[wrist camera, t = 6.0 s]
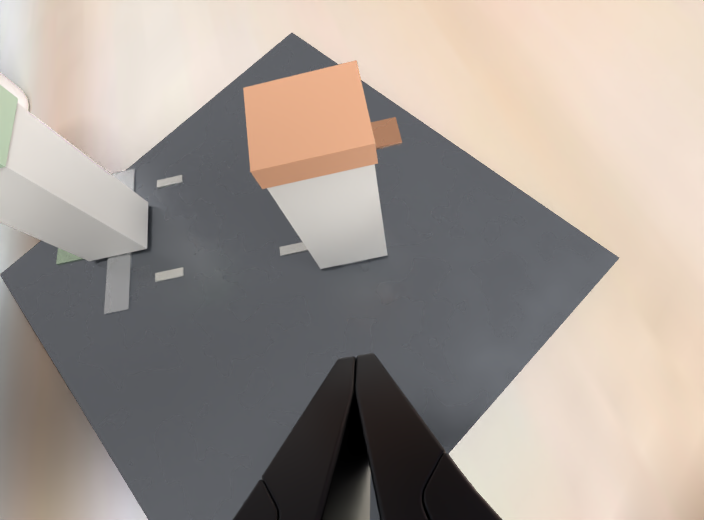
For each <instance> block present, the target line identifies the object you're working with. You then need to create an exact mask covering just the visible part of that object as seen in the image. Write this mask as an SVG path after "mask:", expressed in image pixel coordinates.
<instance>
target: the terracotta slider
mask: <svg viewBox="0 0 704 520" xmlns="http://www.w3.org/2000/svg"><path fill="white" fill-rule="evenodd" d="M243 91H244V103H245V114H246V126H247V138H248V150H249V162H250V172H251V173H252V175H253V176H254V178H255V179H256V181H257V182H258V184H259V185H260V186H261V188H262V189H265V188H267V189H268V191H269V192H270V194H271V195H272V197H273V198H274V200H275V201H276V203H277V204H278V206H279V207H280V209H281V210H282V212H283V213H284V215H285V216H286V218H287V219H288V221H289V222H290V224H291V225H292V227H293V228H294V230H295V231H296V233H297V234H298V236H299V237H300V239H301V240H302V242H303V243H304V245H305V246H306V248H307V249H308V251H309V252H310V254H311V255H312V257H313V258H314V260H315V261H316V263H317V264H318V266H319V267H320V269H323V268H328V267H333V266H338V265H343V264H348V263H352V262H357V261H362V260H367V259H372V258H377V257H382V256H387V248H386V241H385V234H384V227H383V220H382V213H381V206H380V199H379V192H378V185H377V177H376V170H375V164H378V159H377V152H376V144H375V139H374V135H373V130H372V126H371V122H370V117H369V113H368V109H367V104H366V100H365V95H364V91H363V87H362V82H361V78H360V74H359V69H358V65H357V61H352V62H348V63H344V64H339V65H335V66H331V67H327V68H323V69H319V70H315V71H310V72H306V73H302V74H298V75H294V76H290V77H286V78H281V79H277V80H273V81H269V82H265V83H261V84H257V85H253V86H248V87H244V88H243Z"/></svg>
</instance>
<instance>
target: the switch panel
mask: <svg viewBox="0 0 704 520" xmlns="http://www.w3.org/2000/svg"><path fill="white" fill-rule="evenodd" d="M335 65H338V64H337V63H336V62H334V61H333V60H331V59H330V58H328V57H327V56H325V55H324V54H322V53H321V52H320V51H318V50H317V49H315V48H314V47H312V46H311V45H309V44H308V43H306V42H305V41H304V40H302V39H301V38H299V37H298V36H296V35H295V34H293V33H291V34H290V35H288V36H287V37H286V38H285V39H284V40H282V41H281V42H280V43H279V44H277V45H276V46H275V47H274V48H273V49H271V50H270V51H269V52H268V53H267V54H265V55H264V56H263V57H262V58H261V59H259V60H258V61H257V62H256V63H255V64H253V65H252V66H251V67H250V68H249V69H247V70H246V71H245V72H244V73H243V74H241V75H240V76H239V77H238V78H237V79H235V80H234V81H233V82H232V83H230V84H229V85H228V86H227V87H226V88H224V89H223V90H222V91H221V92H220V93H218V94H217V95H216V96H215V97H214V98H212V99H211V100H210V101H209V102H208V103H206V104H205V105H204V106H203V107H202V108H200V109H199V110H198V111H197V112H196V113H194V114H193V115H192V116H191V117H190V118H188V119H187V120H186V121H185V122H183V123H182V124H181V125H180V126H179V127H177V128H176V129H175V130H174V131H173V132H171V133H170V134H169V135H168V136H167V137H165V138H164V139H163V140H162V141H161V142H159V143H158V144H157V145H156V146H155V147H153V148H152V149H151V150H150V151H149V152H147V153H146V154H145V155H144V156H143V157H141V158H140V159H139V160H138V161H136V162H135V163H134V164H133V165H132V166H130V167H129V168H128V169H127V170H126V171H122V172H118V173H113V176H114V177H116V178H117V179H118V180H120V181H121V182H122V183H123V184H125V185H126V186H127V187H129V188H130V189H131V190H133V191H134V192H135V193H137V194H138V195H139V196H141V197H142V198H143V199H144V200H146V201H147V202H148V235H147V249H144V250H139V251H134V252H130V253H125V254H121V255H116V256H111V257H107V258H102V259H97V260H93V261H87V260H85V259H83V258H80V257H78V256H76V255H74V254H71V253H69V252H67V251H64V250H62V249H60V248H57V247H55V246H53V245H51V244H48V243H46V242H44V241H40V242H39V243H38V244H36V245H35V246H34V247H33V248H32V249H30V250H29V251H28V252H27V253H26V254H24V255H23V256H22V257H21V258H20V259H18V260H17V261H16V262H15V263H14V264H12V265H11V266H10V267H9V268H8V269H6V270H5V271H4V272H3V273H2V274H0V275H1V277H2V279H3V280H4V282H5V284H6V285H7V287H8V288H9V290H10V292H11V293H12V295H13V297H14V298H15V300H16V302H17V303H18V305H19V307H20V308H21V310H22V312H23V313H24V315H25V317H26V318H27V320H28V321H29V323H30V325H31V326H32V328H33V330H34V331H35V333H36V335H37V336H38V338H39V340H40V341H41V343H42V345H43V346H44V348H45V350H46V351H47V353H48V354H49V356H50V358H51V359H52V361H53V363H54V364H55V366H56V368H57V369H58V371H59V373H60V374H61V376H62V378H63V379H64V381H65V383H66V384H67V386H68V388H69V389H70V391H71V392H72V394H73V396H74V397H75V399H76V401H77V402H78V404H79V406H80V407H81V409H82V411H83V412H84V414H85V416H86V417H87V419H88V421H89V422H90V424H91V425H92V427H93V429H94V430H95V432H96V434H97V435H98V437H99V439H100V440H101V442H102V444H103V445H104V447H105V449H106V450H107V452H108V454H109V455H110V457H111V458H112V460H113V462H114V463H115V465H116V467H117V468H118V470H119V472H120V473H121V475H122V477H123V478H124V480H125V482H126V483H127V485H128V487H129V488H130V490H131V492H132V493H133V495H134V496H135V498H136V500H137V501H138V503H139V505H140V506H141V508H142V510H143V511H144V513H145V515H146V516H147V518H148V520H233V518H234V517H235V515H236V514H237V512H238V511H239V510H240V508H241V507H242V505H243V504H244V502H245V501H246V499H247V498H248V496H249V495H250V493H251V492H252V490H253V489H254V487H255V486H256V484H257V482H258V481H259V480H262V475H263V474H264V472H265V470H266V469H267V467H268V466H269V464H270V463H271V461H272V460H273V458H274V457H275V455H276V453H277V452H278V450H279V449H280V447H281V446H282V444H283V443H284V441H285V440H286V438H287V437H288V435H289V433H290V432H291V430H292V429H293V427H294V426H295V424H296V423H297V421H298V420H299V418H300V416H301V415H302V413H303V412H304V410H305V409H306V407H307V406H308V404H309V403H310V401H311V399H312V398H313V396H314V395H315V393H316V392H317V390H318V389H319V387H320V386H321V384H322V383H323V381H324V379H325V378H326V376H327V375H328V373H329V372H330V370H331V369H332V367H333V366H334V364H335V362H336V361H337V360H338V359H340V358H345V357H351V356H354V357H355V358H357V356H358V355H363V354H369V353H374V354H375V355H376V356H377V358H378V359H379V360H380V362H381V363H382V365H383V366H384V367H385V369H386V370H387V371H388V373H389V374H390V376H391V377H392V378H393V380H394V381H395V382H396V384H397V385H398V386H399V388H400V389H401V391H402V392H403V393H404V395H405V396H406V397H407V399H408V400H409V401H410V403H411V404H412V406H413V407H414V408H415V410H416V411H417V412H418V414H419V415H420V416H421V418H422V419H423V421H424V422H425V423H426V425H427V426H428V427H429V429H430V430H431V431H432V433H433V434H434V436H435V437H436V438H437V440H438V441H439V442H440V444H441V445H442V446H443V448H444V449H445V451H446V453H448V454H449V452H450V451H451V450H452V449H453V448H454V447H455V445H456V444H457V443H458V442H459V441H460V440H461V439H462V437H463V436H464V435H465V434H466V433H467V432H468V431H469V429H470V428H471V427H472V426H473V425H474V424H475V423H476V421H477V420H478V419H479V418H480V417H481V416H482V415H483V413H484V412H485V411H486V410H487V409H488V408H489V407H490V405H491V404H492V403H493V402H494V401H495V400H496V399H497V397H498V396H499V395H500V394H501V393H502V392H503V391H504V389H505V388H506V387H507V386H508V385H509V384H510V383H511V381H512V380H513V379H514V378H515V377H516V376H517V375H518V373H519V372H520V371H521V370H522V369H523V368H524V366H525V365H526V364H527V363H528V362H529V361H530V360H531V358H532V357H533V356H534V355H535V354H536V353H537V352H538V350H539V349H540V348H541V347H542V346H543V345H544V344H545V342H546V341H547V340H548V339H549V338H550V337H551V336H552V334H553V333H554V332H555V331H556V330H557V329H558V328H559V326H560V325H561V324H562V323H563V322H564V321H565V320H566V318H567V317H568V316H569V315H570V314H571V313H572V312H573V310H574V309H575V308H576V307H577V306H578V305H579V304H580V302H581V301H582V300H583V299H584V298H585V297H586V296H587V294H588V293H589V292H590V291H591V290H592V289H593V287H594V286H595V285H596V284H597V283H598V282H599V281H600V279H601V278H602V277H603V276H604V275H605V274H606V273H607V271H608V270H609V269H610V268H611V267H612V266H613V265H614V263H615V262H616V261H617V260H618V259H619V257H617V256H616V255H614V254H613V253H611V252H610V251H609V250H607V249H606V248H604V247H603V246H601V245H600V244H598V243H597V242H595V241H594V240H593V239H591V238H590V237H588V236H587V235H585V234H584V233H582V232H581V231H579V230H578V229H577V228H575V227H574V226H572V225H571V224H569V223H568V222H566V221H565V220H563V219H562V218H561V217H559V216H558V215H556V214H555V213H553V212H552V211H550V210H549V209H548V208H546V207H545V206H543V205H542V204H540V203H539V202H537V201H536V200H534V199H533V198H532V197H530V196H529V195H527V194H526V193H524V192H523V191H521V190H520V189H518V188H517V187H516V186H514V185H513V184H511V183H510V182H508V181H507V180H505V179H504V178H503V177H501V176H500V175H498V174H497V173H495V172H494V171H492V170H491V169H489V168H488V167H487V166H485V165H484V164H482V163H481V162H479V161H478V160H476V159H475V158H473V157H472V156H471V155H469V154H468V153H466V152H465V151H463V150H462V149H460V148H459V147H458V146H456V145H455V144H453V143H452V142H450V141H449V140H447V139H446V138H444V137H443V136H442V135H440V134H439V133H437V132H436V131H434V130H433V129H431V128H430V127H428V126H427V125H426V124H424V123H423V122H421V121H420V120H418V119H417V118H415V117H414V116H412V115H411V114H410V113H408V112H407V111H405V110H404V109H402V108H401V107H399V106H398V105H397V104H395V103H394V102H392V101H391V100H389V99H388V98H386V97H385V96H383V95H382V94H381V93H379V92H378V91H376V90H375V89H373V88H372V87H370V86H369V85H367V84H366V83H365V82H363V81H362V80H361V82H362V87H363V91H364V95H365V100H366V104H367V109H368V113H369V117H370V122H371V126H372V130H373V135H374V139H375V144H376V152H377V159H378V164H375V170H376V177H377V185H378V192H379V199H380V206H381V213H382V220H383V227H384V234H385V241H386V248H387V256H382V257H377V258H372V259H367V260H362V261H357V262H352V263H348V264H343V265H338V266H333V267H328V268H323V269H320V267H319V266H318V264H317V263H316V261H315V260H314V258H313V257H312V255H311V254H310V252H309V251H308V249H307V248H306V246H305V245H304V243H303V242H302V240H301V239H300V237H299V236H298V234H297V233H296V231H295V230H294V228H293V227H292V225H291V224H290V222H289V221H288V219H287V218H286V216H285V215H284V213H283V212H282V210H281V209H280V207H279V206H278V204H277V203H276V201H275V200H274V198H273V197H272V195H271V194H270V192H269V191H268V189H267V188H265V189H262V188H261V186H260V185H259V184H258V182H257V181H256V179H255V178H254V176H253V175H252V173H251V172H250V162H249V150H248V138H247V126H246V114H245V103H244V91H243V88H244V87H248V86H253V85H257V84H261V83H265V82H269V81H273V80H277V79H281V78H286V77H290V76H294V75H298V74H302V73H306V72H310V71H315V70H319V69H323V68H327V67H331V66H335ZM370 520H380V517H379V512H378V507H377V502H376V497H375V492H374V487H373V482H372V477H371V478H370Z"/></svg>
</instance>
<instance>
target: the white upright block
mask: <svg viewBox="0 0 704 520" xmlns="http://www.w3.org/2000/svg"><path fill="white" fill-rule="evenodd" d="M17 102H18V98H17V97H16V96H14V95H13V94H12V93H10V92H9V91H8V90H6V89H5V88H4V87H3V86H1V85H0V223H2V224H5V225H7V226H9V227H12V228H14V229H16V230H19V231H21V232H23V233H25V234H28V235H30V236H32V237H35V238H37V239H39V240H41V241H44V242H46V243H48V244H51V245H53V246H55V247H57V248H60V249H62V250H64V251H67V252H69V253H71V254H74V255H76V256H78V257H80V258H83V259H85V260H87V261H93V260H97V259H102V258H107V257H111V256H116V255H121V254H125V253H130V252H134V251H139V250H144V249H147V235H148V202H147V201H146V200H144V199H143V198H142V197H141V196H139V195H138V194H137V193H135V192H134V191H133V190H131V189H130V188H129V187H127V186H126V185H125V184H123V183H122V182H121V181H120V180H118V179H117V178H116V177H114V176H113V175H112V174H110V173H109V172H108V171H106V170H105V169H104V168H103V167H101V166H100V165H99V164H97V163H96V162H95V161H93V160H92V159H91V158H89V157H88V156H87V155H85V154H84V153H83V152H82V151H80V150H79V149H78V148H76V147H75V146H74V145H72V144H71V143H70V142H68V141H67V140H66V139H64V138H63V137H62V136H61V135H59V134H58V133H57V132H55V131H54V130H53V129H51V128H50V127H49V126H47V125H46V124H45V123H43V122H42V121H41V120H40V119H38V118H37V117H36V116H34V115H33V114H32V113H30V112H29V111H28V110H26V109H25V108H24V107H22V106H21V105H20V104H19V103H17Z"/></svg>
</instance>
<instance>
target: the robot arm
mask: <svg viewBox="0 0 704 520" xmlns="http://www.w3.org/2000/svg"><path fill="white" fill-rule="evenodd" d="M371 477H372V482H373V487H374V492H375V497H376V502H377V507H378V512H379V517H380V520H502V519H501V518H500V517H499V515H498V514H497V513H496V512H495V511H494V510H493V509H492V508H491V507H490V505H489V504H488V503H487V502H486V501H485V500H484V499H483V498H482V496H481V495H480V494H479V493H478V492H477V491H476V490H475V488H474V487H473V486H472V484H471V483H470V482H469V481H468V479H467V478H466V477H465V476H464V474H463V473H462V472H461V471H460V469H459V468H458V467H457V465H456V464H455V463H454V461H453V460H452V458H451V457H450V456H449V454H448V453H446V451H445V449H444V448H443V446H442V445H441V444H440V442H439V441H438V440H437V438H436V437H435V436H434V434H433V433H432V431H431V430H430V429H429V427H428V426H427V425H426V423H425V422H424V421H423V419H422V418H421V416H420V415H419V414H418V412H417V411H416V410H415V408H414V407H413V406H412V404H411V403H410V401H409V400H408V399H407V397H406V396H405V395H404V393H403V392H402V391H401V389H400V388H399V386H398V385H397V384H396V382H395V381H394V380H393V378H392V377H391V376H390V374H389V373H388V371H387V370H386V369H385V367H384V366H383V365H382V363H381V362H380V360H379V359H378V358H377V356H376V355H375V354H374V353H369V354H363V355H358V356H357V358H355V357H354V356H351V357H345V358H340V359H338V360H337V361H336V362H335V364H334V366H333V367H332V369H331V370H330V372H329V373H328V375H327V376H326V378H325V379H324V381H323V383H322V384H321V386H320V387H319V389H318V390H317V392H316V393H315V395H314V396H313V398H312V399H311V401H310V403H309V404H308V406H307V407H306V409H305V410H304V412H303V413H302V415H301V416H300V418H299V420H298V421H297V423H296V424H295V426H294V427H293V429H292V430H291V432H290V433H289V435H288V437H287V438H286V440H285V441H284V443H283V444H282V446H281V447H280V449H279V450H278V452H277V453H276V455H275V457H274V458H273V460H272V461H271V463H270V464H269V466H268V467H267V469H266V470H265V472H264V474H263V475H262V480H259V481H258V482H257V484H256V486H255V487H254V489H253V490H252V492H251V493H250V495H249V496H248V498H247V499H246V501H245V502H244V504H243V505H242V507H241V508H240V510H239V511H238V512H237V514H236V515H235V517H234V518H233V520H370V478H371Z"/></svg>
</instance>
